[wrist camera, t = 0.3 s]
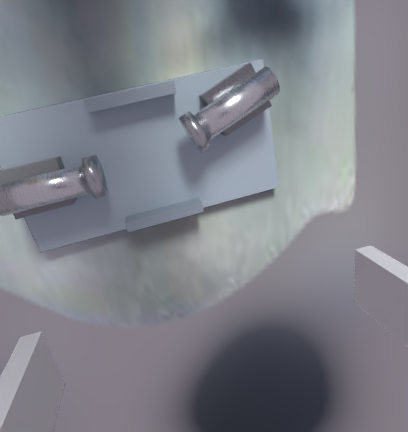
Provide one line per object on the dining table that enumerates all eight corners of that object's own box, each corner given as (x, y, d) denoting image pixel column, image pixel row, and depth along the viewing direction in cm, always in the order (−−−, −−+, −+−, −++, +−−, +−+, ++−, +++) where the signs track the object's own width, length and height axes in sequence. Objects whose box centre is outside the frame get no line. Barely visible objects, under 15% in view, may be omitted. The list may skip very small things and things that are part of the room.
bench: (-14, 120, 32) (-32, 121, 28) (258, 60, 35) (271, 55, 32) (43, 247, 37) (34, 261, 34) (274, 184, 41) (287, 191, 37)
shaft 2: (172, 113, 34) (179, 114, 29) (248, 62, 34) (268, 53, 29) (196, 151, 36) (207, 159, 31) (268, 103, 36) (290, 102, 31)
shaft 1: (-2, 176, 31) (-22, 185, 27) (97, 152, 32) (91, 158, 28) (16, 214, 33) (-1, 228, 29) (109, 189, 34) (106, 200, 30)
